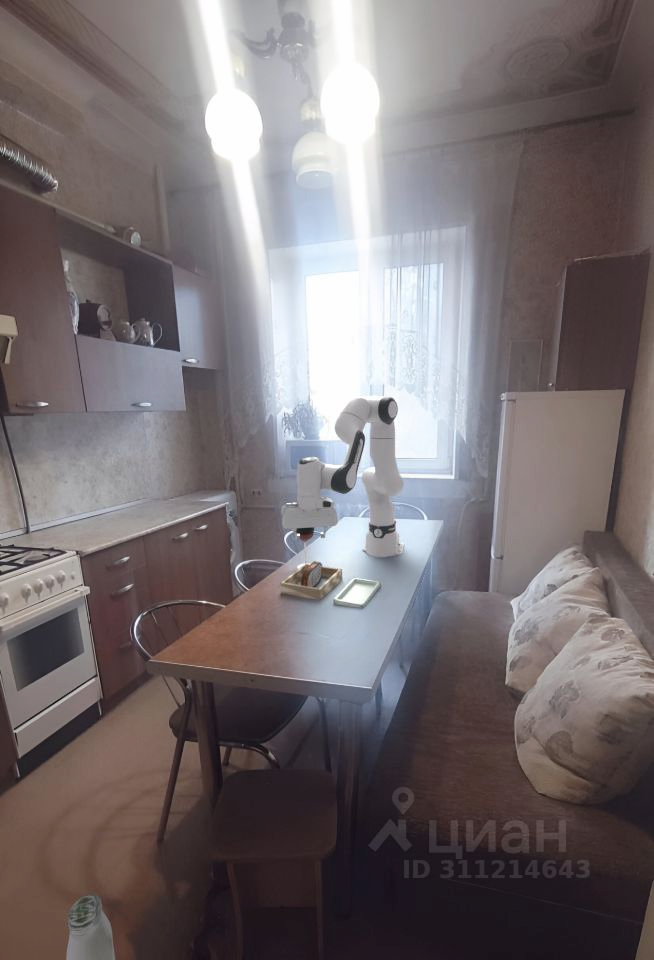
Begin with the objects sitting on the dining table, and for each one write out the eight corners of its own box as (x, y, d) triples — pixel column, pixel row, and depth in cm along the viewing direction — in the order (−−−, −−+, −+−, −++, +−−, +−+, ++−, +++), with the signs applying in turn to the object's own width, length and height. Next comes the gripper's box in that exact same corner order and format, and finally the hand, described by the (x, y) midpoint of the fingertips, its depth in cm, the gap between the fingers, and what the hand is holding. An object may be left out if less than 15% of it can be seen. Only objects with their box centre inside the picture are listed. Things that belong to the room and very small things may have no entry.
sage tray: (353, 583, 166) (353, 577, 166) (380, 587, 162) (380, 581, 161) (333, 605, 148) (333, 599, 148) (362, 611, 144) (362, 604, 144)
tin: (316, 577, 172) (315, 557, 170) (323, 578, 171) (323, 558, 169) (300, 593, 158) (299, 572, 157) (308, 595, 157) (307, 573, 156)
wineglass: (313, 571, 179) (312, 524, 175) (293, 569, 180) (291, 523, 177) (318, 563, 186) (316, 518, 183) (298, 562, 188) (296, 518, 184)
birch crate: (305, 573, 177) (305, 563, 176) (342, 578, 170) (342, 569, 170) (280, 593, 159) (280, 583, 158) (320, 600, 152) (320, 589, 152)
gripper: (281, 505, 154) (282, 543, 156) (338, 502, 157) (338, 539, 160) (280, 501, 160) (281, 537, 162) (335, 498, 163) (335, 534, 166)
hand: (310, 538), depth 161 cm, fingers open, 8 cm apart
